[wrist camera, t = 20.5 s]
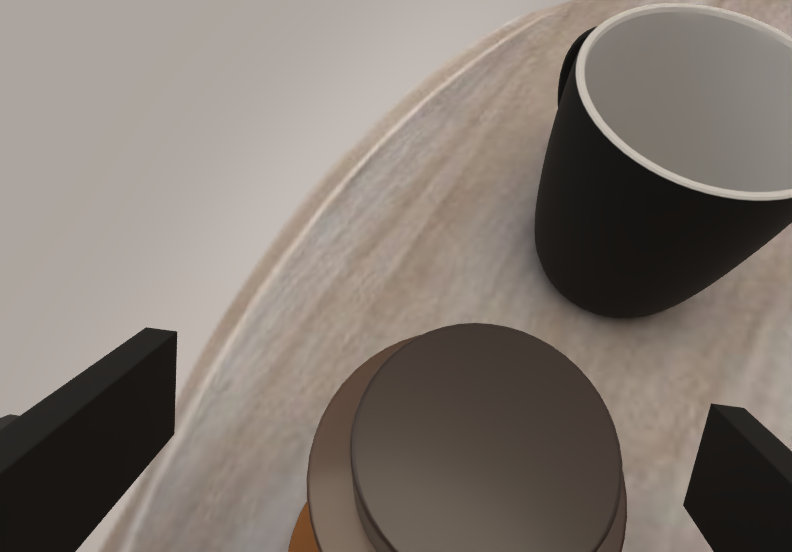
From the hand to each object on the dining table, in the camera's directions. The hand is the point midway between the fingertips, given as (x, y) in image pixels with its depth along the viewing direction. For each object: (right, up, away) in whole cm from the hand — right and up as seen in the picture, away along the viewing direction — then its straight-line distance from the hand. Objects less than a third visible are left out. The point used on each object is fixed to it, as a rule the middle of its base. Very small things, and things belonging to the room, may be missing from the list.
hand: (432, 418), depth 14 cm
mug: (+8, +5, +14) cm, 18 cm away
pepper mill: (0, -6, +6) cm, 9 cm away
